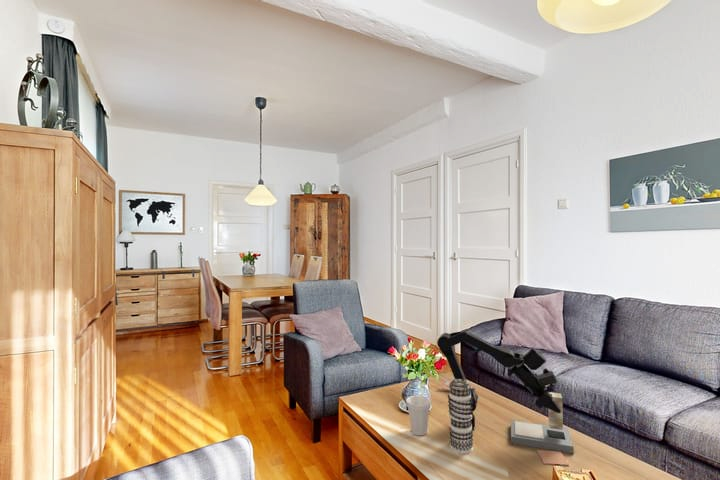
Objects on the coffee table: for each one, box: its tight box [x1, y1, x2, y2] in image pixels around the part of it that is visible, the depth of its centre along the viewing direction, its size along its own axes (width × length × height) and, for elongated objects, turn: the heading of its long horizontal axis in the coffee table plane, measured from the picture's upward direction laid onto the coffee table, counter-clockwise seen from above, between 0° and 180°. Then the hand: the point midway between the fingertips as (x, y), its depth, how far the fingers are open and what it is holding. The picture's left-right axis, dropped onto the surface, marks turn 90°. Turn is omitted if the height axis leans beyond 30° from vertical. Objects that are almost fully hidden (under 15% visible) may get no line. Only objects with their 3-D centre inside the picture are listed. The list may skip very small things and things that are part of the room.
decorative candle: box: [447, 378, 474, 455], centre depth 141 cm, size 9×9×25 cm
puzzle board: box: [510, 419, 575, 454], centre depth 145 cm, size 21×14×3 cm, turn 68°
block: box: [547, 391, 564, 430], centre depth 143 cm, size 4×4×12 cm
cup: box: [405, 395, 432, 436], centre depth 152 cm, size 10×10×13 cm
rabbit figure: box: [441, 381, 450, 389], centre depth 192 cm, size 6×6×15 cm
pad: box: [536, 449, 570, 466], centre depth 132 cm, size 8×8×1 cm
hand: (559, 409), depth 142 cm, fingers closed on block, 4 cm apart
